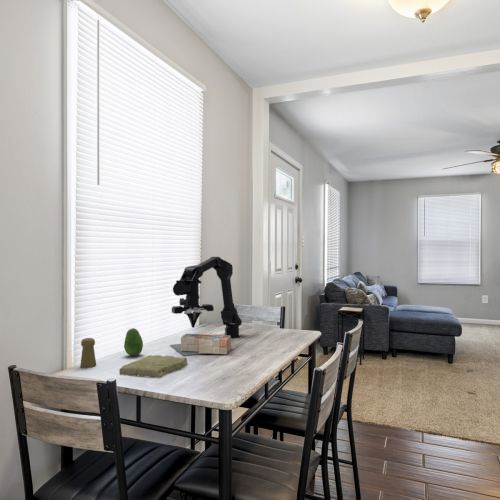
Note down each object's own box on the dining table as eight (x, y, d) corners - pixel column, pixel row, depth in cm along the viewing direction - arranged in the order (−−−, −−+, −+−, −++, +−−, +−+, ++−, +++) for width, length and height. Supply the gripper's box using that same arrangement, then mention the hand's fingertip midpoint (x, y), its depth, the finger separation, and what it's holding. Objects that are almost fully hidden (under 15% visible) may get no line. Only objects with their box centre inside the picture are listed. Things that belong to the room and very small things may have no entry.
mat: (193, 343, 203) (193, 342, 203) (209, 353, 182) (209, 352, 182) (169, 345, 197) (169, 344, 197) (183, 356, 177) (183, 355, 177)
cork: (86, 368, 159) (86, 340, 159) (76, 366, 163) (76, 339, 163) (99, 365, 164) (99, 337, 165) (90, 363, 168) (89, 336, 168)
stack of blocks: (185, 346, 192) (178, 352, 180) (186, 333, 192) (178, 338, 180) (230, 348, 190) (226, 354, 177) (231, 335, 190) (226, 340, 178)
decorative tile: (118, 375, 152) (118, 365, 152) (149, 361, 171) (149, 353, 171) (162, 380, 145) (162, 370, 145) (189, 365, 164) (189, 356, 164)
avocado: (126, 354, 182) (126, 327, 183) (144, 353, 183) (144, 326, 183) (122, 358, 175) (122, 330, 175) (141, 357, 175) (140, 329, 175)
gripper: (205, 291, 202) (206, 323, 202) (168, 293, 194) (168, 326, 194) (213, 293, 192) (214, 326, 192) (174, 295, 184) (175, 330, 184)
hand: (193, 327), depth 191 cm, fingers closed
